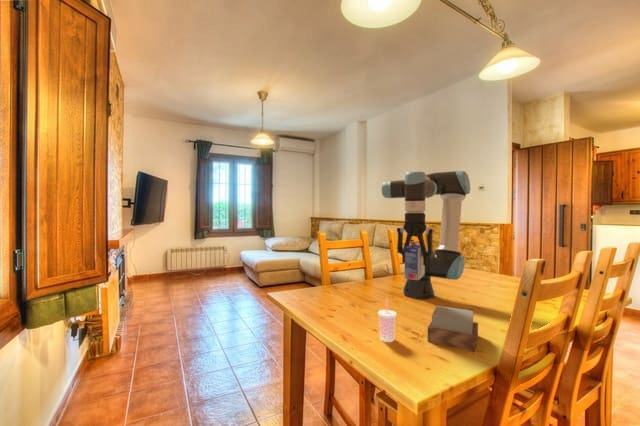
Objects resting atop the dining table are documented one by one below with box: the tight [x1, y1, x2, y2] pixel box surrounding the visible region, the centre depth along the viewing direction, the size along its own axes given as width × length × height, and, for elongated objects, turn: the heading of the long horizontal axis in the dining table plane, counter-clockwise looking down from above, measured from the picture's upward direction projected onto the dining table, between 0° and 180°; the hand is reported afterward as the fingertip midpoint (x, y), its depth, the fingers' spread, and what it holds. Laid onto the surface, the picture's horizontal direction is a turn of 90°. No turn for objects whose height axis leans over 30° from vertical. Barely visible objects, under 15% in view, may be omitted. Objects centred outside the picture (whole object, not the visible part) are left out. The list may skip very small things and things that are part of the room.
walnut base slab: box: [427, 321, 479, 353], centre depth 101 cm, size 14×14×5 cm
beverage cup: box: [377, 297, 397, 343], centre depth 100 cm, size 6×6×14 cm
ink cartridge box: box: [404, 238, 424, 280], centre depth 114 cm, size 10×6×14 cm, turn 147°
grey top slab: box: [431, 305, 474, 335], centre depth 101 cm, size 12×12×4 cm
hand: (414, 272), depth 114 cm, fingers closed on ink cartridge box, 5 cm apart
